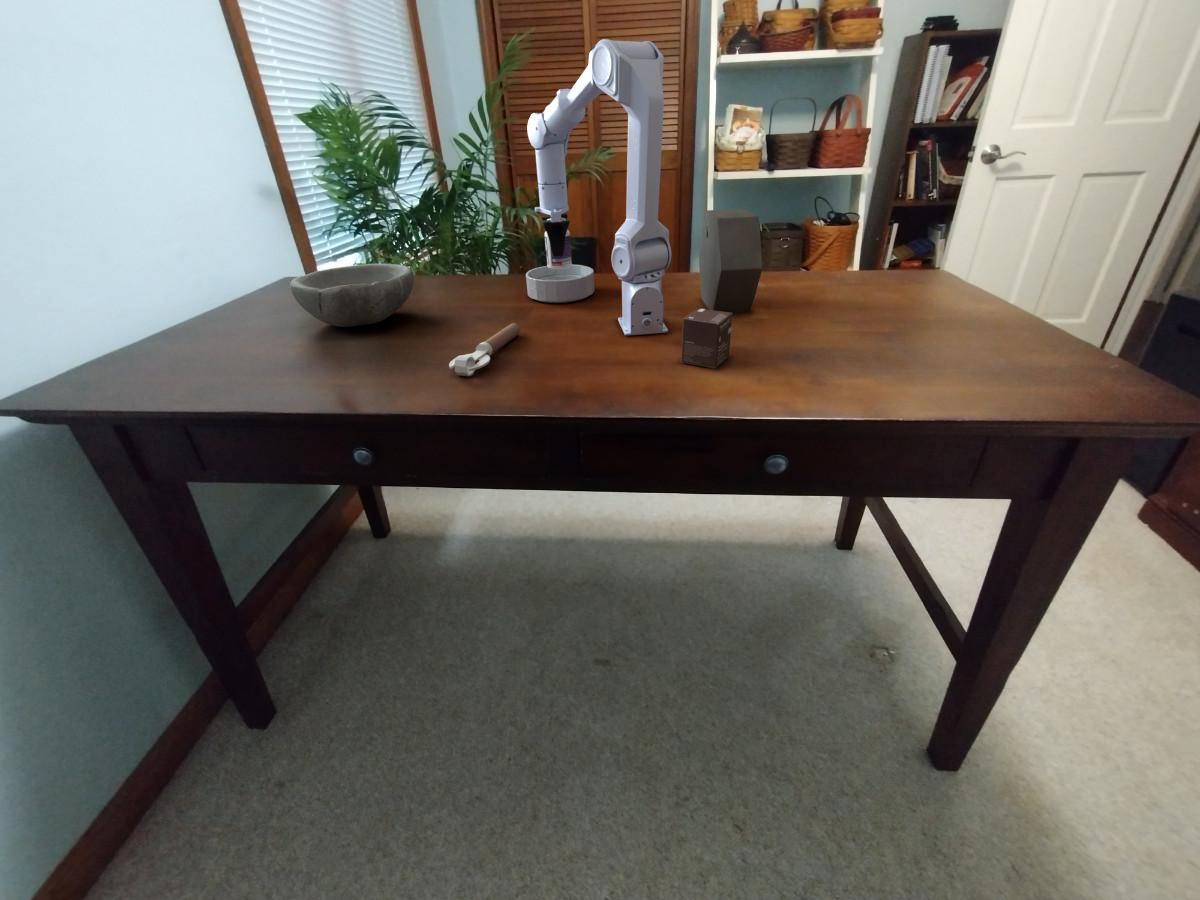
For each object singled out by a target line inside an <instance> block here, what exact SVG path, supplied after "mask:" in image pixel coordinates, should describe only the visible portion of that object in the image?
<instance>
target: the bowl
mask: <svg viewBox="0 0 1200 900" xmlns="http://www.w3.org/2000/svg"><path fill="white" fill-rule="evenodd" d="M414 279H415V278H414V272H413V270H412V268H410V267H409V266H406V265H404V264H403V265H402V264H395V263H368V264H367V263H366V264H365V263H363V264H354V265H348V266H339V267H331V268H326V269H322V270H316V271H313V272H310V273H308V274H304V275H300V276H297V277H295V278H293V279H292V280H291V281H290V285H289V287H290V291H291V294H292V296H293V298H294V299H295V301H296V303H297V304H298V305H300V307H301V308H302V309H303V310H305V312H307V313H308V314H310V315H311V316H312V317H314V318H315V319H317V320H318V321H320V322H322V323H324V324H327V325H330V326H334V327H340V328H349V327H361V326H366V325H373V324H376V323H379V322H382V321H384V320H386V319H388V318H389V317H391V316H392V315H394V314H395V313H396V312H397V311H398V310H399V309H400V308H401V307H403V305H404V304H405V303H406V302H407V301H408V299H409V297H410V296H411V294H412V292H413V291H412V290H413V287H414Z"/></svg>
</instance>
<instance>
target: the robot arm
mask: <svg viewBox="0 0 1200 900" xmlns="http://www.w3.org/2000/svg"><path fill="white" fill-rule="evenodd" d="M664 59H665V57H664V55H663V53H661V51H660V50H659V48H658V47H657V46H656V44H655V43H653V41H650V40H644V41H629V40H611V39H608V38H603V39H600V40H599V41H598V42H597V43H596V44H595V45H594V48H592V49H591V51H589V55H588V65H586V67H585V69H584V70H583V72H582V73H581V74H580V76H579V78H578V79H577V81H576V82H575V83H574V85H573V86H572V88H560V89H558V90H557V91H556V96H555V97H554V99H552V101H551V102H550V103H549V104H547V105H546V106H545V109H544V110H543V112H540V113H538V112H533V113H531V114H530V117H529V119H528V122H527V127H526V128H527V129H526V130H527V137H528V141H529V143H530V145H531V147H533V148H534V153H535V162H536V163H535V164H536V175H537V183H538V184H537V186H538V196H539V197H538V198H539V206H535V207H534V212H535V213H541V214H545V215H541V217H540V219H541V225H542V227H543V228H544V230H545V232H547V235H548V238H549V241H550V246H551V250H552V254H553V256H554V257H556V256H563V254H564V246H565V237H566V232H567V230H569V227H570V223H571V222H570V220H568V217H569V215H568V213H567V212H569V211H570V206H569V205H568V204H569V203H568V188H567V171H566V157H567V154H568V143H569V141H570V133H571V132H572V131H573V130H574V128H576V127H577V126H578V125H579V124H580V123H581V121H582V120H584V118H585V116H586V107H588V105H589V104H590V103H591V102H592V101H594V100H595V99H597V97H598V96H600V95H601V94H602V93H605V94H606V95H608V96H609V97H610V98H612V99H613V100H614V101H616V102H617V103H619V104H620V105H621V106H622V108H623V109H624V110H625V111H626V113H627V153H626V155H627V161H626V163H627V164H626V203H625V204H626V207H625V210H626V211H625V217H626V218H625V220H624V222H623V224H621V226H620V227H619V229H618V230H617V231H616V233H615V234H614V245H613V248H612V250H611V257H610V258H611V267H612V269H613V271H614V273H615V274H616V276H617V278H618V280H620V281H621V308H622V311H621V312H622V314H621V315H622V316H620V317H618V318H617V321H618V323H619V325H620V328H621V329H622V332H623V334H624V336H639V335H653V334H666V333H668V332H669V329H668V328H667V326H666V324H665V323H664V296H663V294H662V277H664V276H665V275H666V273H665V272H666V270H667V269H668V268H669V266H670V265H671V262H672V256H673V255H672V254H673V253H672V248H671V244H670V231H669V229H668V228H667V227H666V226H665V225H664V224H662V223H661V222H660V221H659V205H660V186H661V185H660V184H661V183H660V182H661V168H662V167H661V166H662V149H663V148H662V145H663V129H664V106H665V97H664V89H663V82H664V64H665V63H664V62H665V61H664ZM550 218H551V220H547V219H550ZM561 218H565V219H566V221H561Z"/></svg>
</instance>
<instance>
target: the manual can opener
mask: <svg viewBox="0 0 1200 900" xmlns="http://www.w3.org/2000/svg"><path fill="white" fill-rule="evenodd" d="M520 333H521V327H520V325H519V324H518V323H516V322H511V323H510V324H509V325H507V326H506V327H504V328H503V329H501V330H500V331H498V332H497V333H495V334H493V335H492V336H491V337H489V338H488V339H486V340H485V341H483V342H480V343H479V344H477V345H476V346H475V351H473V352H472V353H466V354H462V355H457V356H456V357H455V358H453V359H452V360H451V361H450V362H449V364H448V367H449V370H452V369H453V368H454V372H455V374H456V376H463V377H471V376H472V375H474V374H475V371H476V370H479V369H481V368H483V367H485V366H487V365H488V364H489V363H490V362H491V356H492V355H493V354H494V353H495V352H497V351H499V349H500V348H502V347H503V346H505V345H507V343H509V342H510V341H511V340H513V339H514V338H516V337H517V336H518V335H520ZM476 361H478V362H477V363H476Z"/></svg>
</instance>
